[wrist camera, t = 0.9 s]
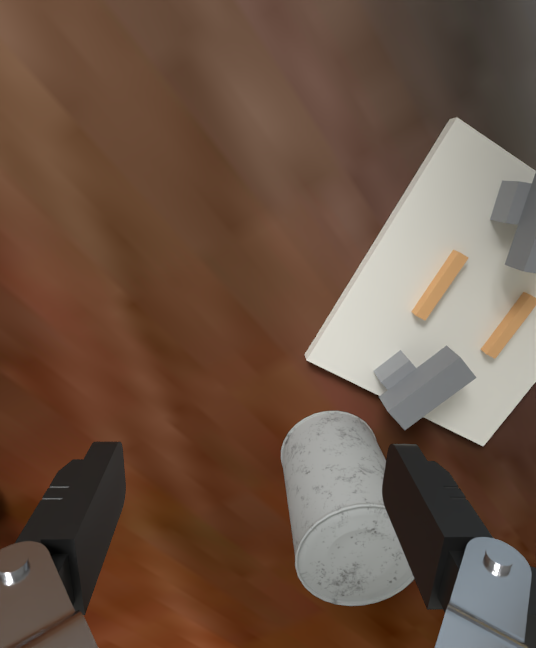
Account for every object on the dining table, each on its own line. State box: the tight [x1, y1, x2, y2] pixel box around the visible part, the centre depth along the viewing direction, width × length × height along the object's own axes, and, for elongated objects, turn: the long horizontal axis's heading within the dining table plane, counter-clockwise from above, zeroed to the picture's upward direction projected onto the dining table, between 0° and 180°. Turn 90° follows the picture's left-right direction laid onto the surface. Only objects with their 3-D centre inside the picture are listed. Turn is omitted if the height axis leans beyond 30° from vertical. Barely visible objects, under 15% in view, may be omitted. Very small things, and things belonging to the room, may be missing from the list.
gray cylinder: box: [281, 411, 414, 606], centre depth 37 cm, size 10×10×12 cm
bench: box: [305, 117, 536, 446], centre depth 35 cm, size 22×20×6 cm
